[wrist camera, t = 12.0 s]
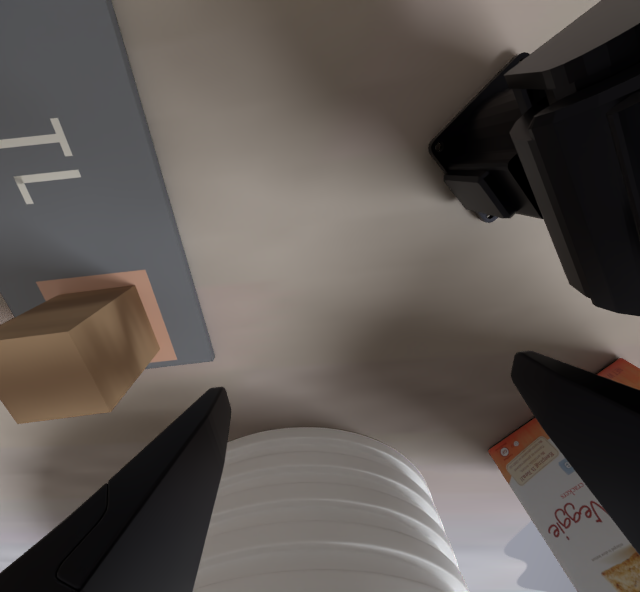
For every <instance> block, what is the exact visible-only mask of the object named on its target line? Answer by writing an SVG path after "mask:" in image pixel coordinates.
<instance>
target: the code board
mask: <svg viewBox="0 0 640 592" xmlns="http://www.w3.org/2000/svg"><path fill="white" fill-rule="evenodd" d="M131 285H135V286H136V289H137V291H138V294H139V296H140V299H141V301H142V304H143V306H144V309H145V311H146V314H147V317H148V319H149V322H150V324H151V327H152V329H153V332H154V334H155V337H156V339H157V342H158V344H159V347H160V350H159V351H158V353H157V354H156V355H155V357H154V358H153V359H152V360H151V362H150V363H149V364H148V365H147V367H146V368H145V369H149V368H158V367H167V366H176V365H184V364H193V363H202V362H210V361H213V360H214V358H215V355H214V351H213V348H212V344H211V341H210V338H209V334H208V331H207V327H206V324H205V320H204V317H203V314H202V310H201V307H200V303H199V300H198V296H197V293H196V290H195V286H194V283H193V279H192V276H191V272H190V269H189V266H188V262H187V259H186V255H185V252H184V248H183V245H182V242H181V238H180V235H179V231H178V228H177V224H176V221H175V218H174V214H173V211H172V207H171V204H170V200H169V197H168V194H167V190H166V187H165V183H164V180H163V176H162V173H161V170H160V166H159V163H158V159H157V156H156V152H155V149H154V146H153V142H152V139H151V135H150V132H149V128H148V125H147V122H146V118H145V115H144V111H143V108H142V104H141V101H140V98H139V94H138V91H137V87H136V84H135V80H134V77H133V74H132V70H131V67H130V63H129V60H128V56H127V53H126V50H125V46H124V43H123V39H122V36H121V32H120V29H119V26H118V22H117V19H116V15H115V12H114V8H113V5H112V2H111V0H0V293H1V294H2V296H3V298H4V300H5V301H6V303H7V305H8V306H9V308H10V310H11V312H12V313H13V315H14V317H17V316H19V315H21V314H23V313H24V312H26V311H28V310H30V309H32V308H34V307H36V306H38V305H40V304H42V303H44V302H46V301H48V300H50V299H51V298H53V297H55V296H57V295H60V294H68V293H76V292H84V291H92V290H100V289H108V288H116V287H124V286H131Z"/></svg>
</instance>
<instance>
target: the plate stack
mask: <svg viewBox="0 0 640 592" xmlns="http://www.w3.org/2000/svg"><path fill="white" fill-rule="evenodd" d="M193 592H469V590H468V587H467V585H466V582H465V580H464V578H463V576H462V574H461V572H460V571H459V568H458V563H457V560H456V557H455V554H454V552H453V549H452V547H451V544H450V542H449V540H448V538H447V536H446V534H445V530H444V527H443V524H442V521H441V519H440V516H439V514H438V511H437V509H436V507H435V505H434V503H433V499H432V496H431V493H430V491H429V488H428V486H427V483H426V481H425V479H424V477H423V476H422V474H421V473H420V471H419V470H418V469H417V468H416V466H415V465H414V464H413V463H412V462H411V461H410V460H408V459H407V458H406V457H405V456H404V455H402V454H401V453H400V452H398V451H397V450H395V449H393V448H392V447H390V446H388V445H386V444H384V443H382V442H380V441H378V440H375V439H372V438H370V437H367V436H364V435H360V434H357V433H353V432H348V431H344V430H338V429H330V428H319V427H294V428H282V429H274V430H268V431H263V432H258V433H254V434H251V435H247V436H244V437H241V438H238V439H235V440H232V441H230V442H227V449H226V456H225V462H224V467H223V472H222V476H221V480H220V484H219V488H218V492H217V496H216V500H215V504H214V508H213V512H212V516H211V520H210V524H209V528H208V532H207V536H206V540H205V544H204V548H203V552H202V556H201V560H200V564H199V568H198V572H197V576H196V580H195V584H194V588H193Z"/></svg>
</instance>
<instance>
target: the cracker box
mask: <svg viewBox="0 0 640 592" xmlns="http://www.w3.org/2000/svg"><path fill="white" fill-rule="evenodd" d="M597 375H599V376H602V377H605V378H608V379H610V380H613V381H616V382H619V383H621V384H624V385H627V386H630V387H632V388H635V389H638V390H640V369H639V368H638V367H636V366H634V365H632V364H631V363H629V362H627V361H626V360H624V359H622V358H619V359H617V360H616V361H615V362H614V363H612V364H611V365H609V366H608V367H607V368H605V369H604V370H602V371H601V372H599V373H598V374H597ZM488 452H489V454H490V455H491V457H492V458H493V460H494V461H495V463H496V465H497V466H498V468H499V469H500V471H501V473H502V474H503V476H504V478H505V479H506V481H507V482H508V484H509V485H510V487H511V488H512V490H513V492H514V493H515V495H516V496H517V498H518V499H519V501H520V502H521V504H522V505H523V507H524V509H525V510H526V512H527V513H528V515H529V516H530V518H531V520H532V521H533V523H534V524H535V525H536V527H537V529H538V530H539V532H540V533H541V535H542V537H543V538H544V540H545V541H546V543H547V545H548V546H549V548H550V549H551V551H552V552H553V554H554V556H555V557H556V559H557V560H558V562H559V563H560V565H561V567H562V568H563V570H564V571H565V573H566V574H567V576H568V577H569V579H570V581H571V582H572V584H573V585H574V587H575V588H576V590H577V592H640V555H639V554H638V553H637V551H636V550H635V549H634V547H633V546H632V545H631V544H630V542H629V541H628V540H627V538H626V537H625V536H624V534H623V533H622V532H621V530H620V529H619V528H618V527H617V525H616V524H615V523H614V521H613V520H612V519H611V517H610V516H609V515H608V513H607V512H606V511H605V510H604V508H603V507H602V506H601V504H600V503H599V502H598V500H597V499H596V498H595V496H594V495H593V494H592V493H591V491H590V490H589V489H588V487H587V486H586V485H585V483H584V482H583V481H582V479H581V478H580V477H579V476H578V474H577V473H576V472H575V470H574V469H573V468H572V466H571V465H570V464H569V462H568V461H567V460H566V458H565V457H564V456H563V455H562V453H561V452H560V451H559V449H558V448H557V447H556V445H555V444H554V443H553V441H552V440H551V439H550V438H549V436H548V435H547V434H546V432H545V431H544V430H543V428H542V427H541V425H540V424H539V422H538V421H537V419H536V418H534V419H532V420H531V421H529V422H528V423H527V424H525V425H524V426H522V427H521V428H519V429H518V430H517V431H515V432H514V433H512V434H511V435H509V436H508V437H506V438H505V439H504V440H502V441H501V442H499V443H498V444H496V445H495V446H493V447H492V448H490V449H489V450H488Z"/></svg>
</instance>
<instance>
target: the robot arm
mask: <svg viewBox="0 0 640 592" xmlns="http://www.w3.org/2000/svg"><path fill="white" fill-rule="evenodd" d="M519 61H521V62H520V63H518V62H519ZM438 142H439V143H440V144H441V149H440V151H436V149H435V146H436V144H437V143H438ZM428 149H429V153H430V155H431V156H432V157H433V158H434V160H435V161H436V162H437V164H438V165H439V166H440V168H441V169H442V170H443V171H444V173H445V175H444V182H445V183H446V184H447V185H448V187H449V188H450V189H451V191H452V192H453V193H454V194H455V196H456V197H457V198H458V199H459V201H460V202H461V203H462V205H463V206H464V207H465V208H466V209H468V210H472V211H474V212H475V213H476V214H477V216H478V217H479V218H480V220H482V221H484V222H488V223H490V222H493V221H494V220H496V219H497V218H498V217H500V218H511V217H512V216H513V215H514V214H515V213H516V214H521V215H526V216H530V217H535V218H540V219H544V221H545V224H546V226H547V229H548V231H549V234H550V237H551V239H552V242H553V244H554V247H555V249H556V252H557V254H558V257H559V259H560V262H561V264H562V267H563V269H564V272H565V274H566V277H567V279H568V281H569V284H570V285H571V286H573V287H574V288H575V289H577V290H578V291H579V292H581V293H582V294H583V295H585V296H586V297H588V298H591V300H592V303H593V305H595V306H597V307H600V308H603V309H606V310H610V311H613V312H616V313H621V314H628V315H635V316H640V0H601V1H600V2H599V3H597V4H596V5H595V6H593V7H592V8H591V9H589V10H588V11H587V12H585V13H584V14H583V15H581V16H580V17H579V18H578V19H576V20H575V21H574V22H572V23H571V24H570V25H568V26H567V27H566V28H564V29H563V30H562V31H560V32H559V33H558V34H556V35H555V36H554V37H553V38H551V39H550V40H549V41H547V42H546V43H545V44H543V45H542V46H541V47H539V48H538V49H537V50H535V51H534V52H533V53H532V54H529V53H526V52H524V53H521V54H519V55H517V56H515V57H514V58H513V59H512V60H511V61H510V62H509V63H508V64H507V65H506V66H505V67H504V68H503V69H502V70H501V71H500V72H499V73H498V74H497V75H496V76H495V77H494V78H493V79H492V80H491V81H490V82H489V83H488V84H487V85H486V86H485V87H484V88H483V89H482V90H481V91H480V92H479V93H478V94H477V95H476V96H475V97H474V98H473V99H472V100H471V101H470V102H469V103H468V104H467V105H466V106H465V107H464V108H463V109H462V110H461V111H460V112H459V113H458V114H457V115H456V116H455V117H454V118H453V119H452V121H451V122H450V123H449V124H448V125H447V126H446V127H445V128H444V129H443V130H442V131H441V132H440V133H439V134H438V135H437V136H436V137H435V138H434V139H433V140H432V141H431V142H430V144H429V147H428ZM487 214H488V215H490V216H489V217H488V218H487ZM511 378H512V381H513V383H514V384H515V386H516V387H517V389H518V391H519V392H520V394H521V395H522V397H523V399H524V400H525V402H526V403H527V405H528V407H529V408H530V410H531V411H532V413H533V415H534V416H535V418H536V419H537V421H538V422H539V424H540V425H541V427H542V428H543V430H544V431H545V432H546V434H547V435H548V436H549V438H550V439H551V440H552V441H553V443H554V444H555V445H556V447H557V448H558V449H559V451H560V452H561V453H562V455H563V456H564V457H565V458H566V460H567V461H568V462H569V464H570V465H571V466H572V468H573V469H574V470H575V472H576V473H577V474H578V476H579V477H580V478H581V479H582V481H583V482H584V483H585V485H586V486H587V487H588V489H589V490H590V491H591V493H592V494H593V495H594V496H595V498H596V499H597V500H598V502H599V503H600V504H601V506H602V507H603V508H604V510H605V511H606V512H607V513H608V515H609V516H610V517H611V519H612V520H613V521H614V523H615V524H616V525H617V527H618V528H619V529H620V530H621V532H622V533H623V534H624V536H625V537H626V538H627V540H628V541H629V542H630V544H631V545H632V546H633V547H634V549H635V550H636V551H637V553H638V554H639V555H640V390H638V389H635V388H632V387H630V386H627V385H624V384H621V383H619V382H616V381H613V380H610V379H608V378H605V377H602V376H599V375H597V374H594V373H591V372H588V371H586V370H583V369H580V368H577V367H575V366H572V365H569V364H566V363H564V362H561V361H558V360H555V359H553V358H550V357H547V356H544V355H541V354H539V353H536V352H533V351H523V352H518V353H516V354H515V356H514V361H513V366H512V371H511ZM230 419H231V406H230V403H229V399H228V396H227V392H226V390H225V388H224V387H216V388H210V389H209V390H208V391H207V392H206V393H204V394H203V395H202V396H201V397H200V398H199V399H198V400H197V401H196V402H195V403H193V404H192V405H191V406H190V407H189V408H188V409H187V410H186V411H185V412H184V413H182V414H181V415H180V416H179V417H178V418H177V419H176V420H175V421H174V422H173V423H171V424H170V425H169V426H168V427H167V428H166V429H165V430H164V431H163V432H162V433H161V434H159V435H158V436H157V437H156V438H155V439H154V440H153V441H152V442H151V443H150V444H148V445H147V446H146V447H145V448H144V449H143V450H142V451H141V452H140V453H139V454H137V455H136V456H135V457H134V458H133V459H132V460H131V461H130V462H129V463H128V464H126V465H125V466H124V467H123V468H122V469H121V470H120V471H119V472H118V473H117V474H115V475H114V476H113V477H112V478H111V479H110V480H109V481H108V484H107V483H106V484H104V485H103V486H102V487H101V488H100V489H99V490H98V491H97V492H96V493H94V494H93V495H92V496H91V497H90V498H89V499H88V500H87V501H86V502H84V503H83V504H82V505H81V506H80V507H79V508H78V509H76V510H75V511H74V512H73V513H72V514H71V515H70V516H69V517H67V518H66V519H65V520H64V521H63V522H61V523H60V524H59V525H58V526H57V527H56V528H54V529H53V530H52V531H51V532H50V533H48V534H47V535H46V536H45V537H44V538H42V539H41V540H40V541H39V542H38V543H36V544H35V545H34V546H33V547H31V548H30V549H29V550H28V551H27V552H25V553H24V554H23V555H22V556H20V557H19V558H18V559H17V560H16V561H14V562H13V563H12V564H11V565H9V566H8V567H7V568H6V569H5V570H3V571H2V572H1V573H0V592H193V588H194V584H195V580H196V576H197V572H198V568H199V564H200V560H201V556H202V552H203V548H204V544H205V540H206V536H207V532H208V528H209V524H210V520H211V516H212V512H213V508H214V504H215V500H216V496H217V492H218V488H219V484H220V480H221V476H222V472H223V467H224V462H225V456H226V449H227V441H228V434H229V427H230Z"/></svg>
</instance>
